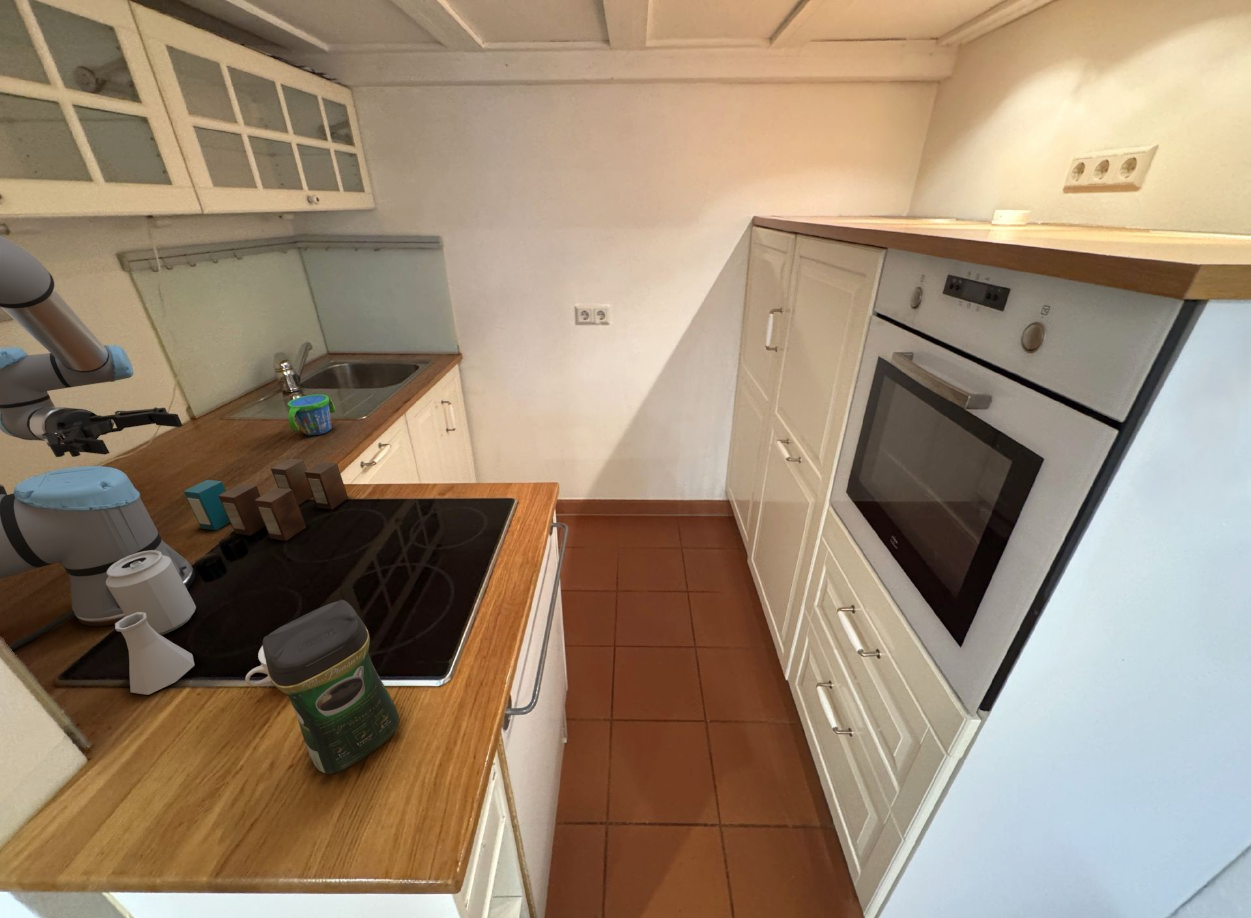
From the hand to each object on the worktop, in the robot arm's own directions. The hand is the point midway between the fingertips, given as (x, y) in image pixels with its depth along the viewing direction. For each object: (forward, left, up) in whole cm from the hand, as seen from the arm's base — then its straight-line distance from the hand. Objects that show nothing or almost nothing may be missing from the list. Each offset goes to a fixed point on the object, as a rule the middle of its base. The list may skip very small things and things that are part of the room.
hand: (143, 433), depth 99 cm
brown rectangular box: (+12, -19, -20) cm, 30 cm away
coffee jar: (-35, -74, -20) cm, 84 cm away
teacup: (-29, -59, -20) cm, 68 cm away
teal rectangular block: (0, -10, -20) cm, 22 cm away
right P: (+12, -28, -20) cm, 36 cm away
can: (-25, -30, -20) cm, 44 cm away
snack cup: (+47, +9, -20) cm, 52 cm away
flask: (-33, -40, -20) cm, 55 cm away
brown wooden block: (0, -28, -20) cm, 34 cm away
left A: (0, -19, -20) cm, 27 cm away
